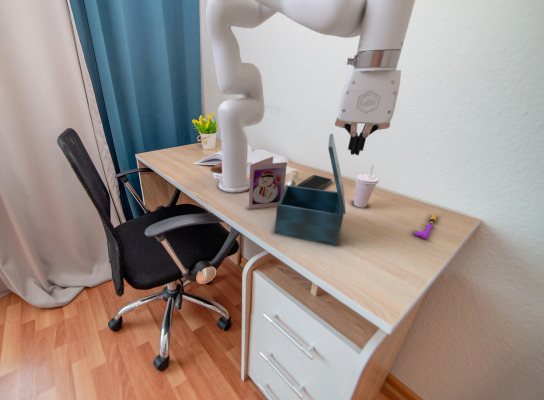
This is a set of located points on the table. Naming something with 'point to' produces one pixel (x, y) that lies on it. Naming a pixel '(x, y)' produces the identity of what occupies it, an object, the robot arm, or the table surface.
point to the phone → (315, 182)
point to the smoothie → (364, 188)
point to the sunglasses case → (217, 168)
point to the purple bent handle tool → (426, 232)
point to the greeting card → (266, 183)
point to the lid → (336, 173)
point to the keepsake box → (309, 214)
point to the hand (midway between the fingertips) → (354, 153)
